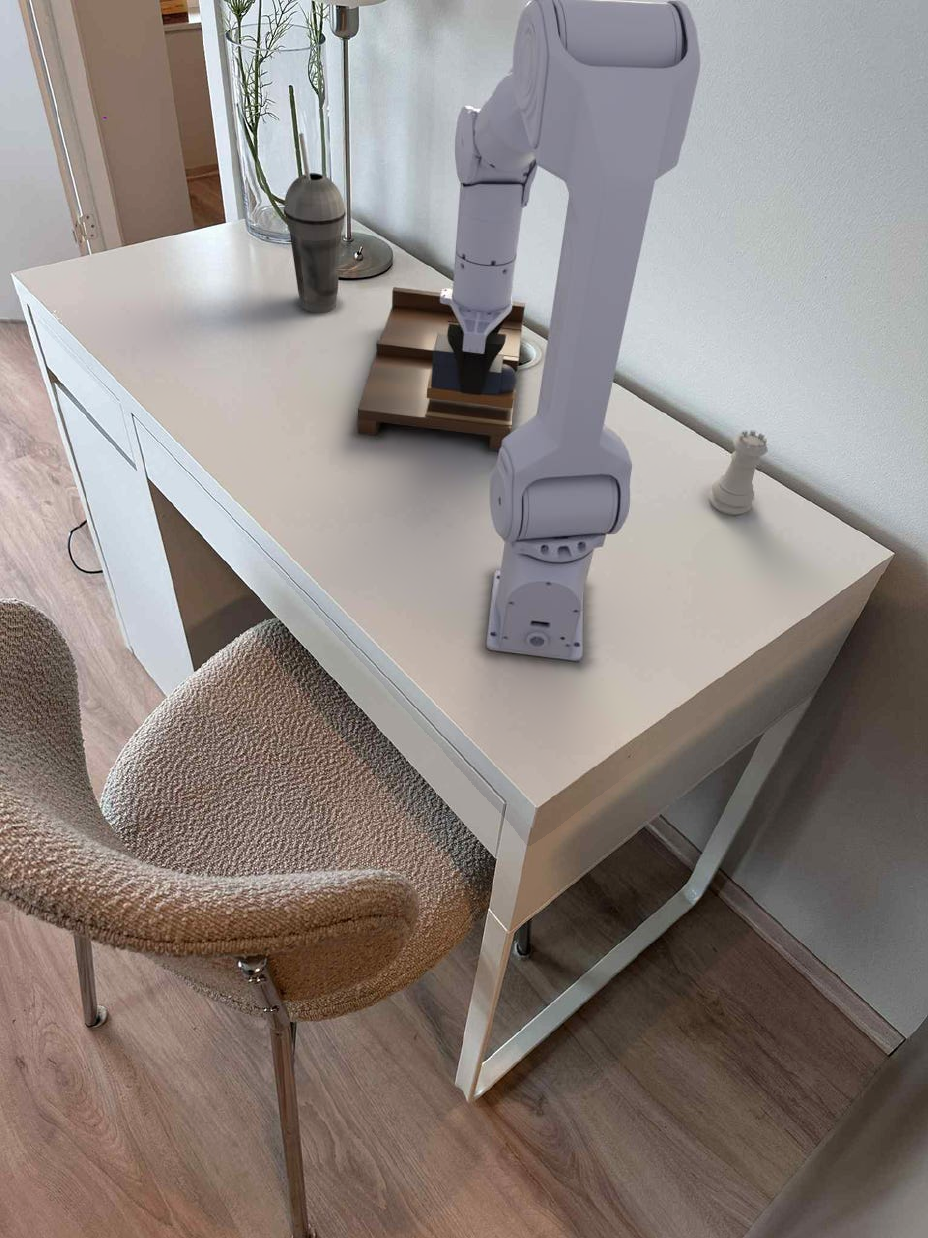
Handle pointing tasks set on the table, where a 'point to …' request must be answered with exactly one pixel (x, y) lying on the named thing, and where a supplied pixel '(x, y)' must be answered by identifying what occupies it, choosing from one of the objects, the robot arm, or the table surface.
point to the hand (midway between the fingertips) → (473, 381)
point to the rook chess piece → (739, 475)
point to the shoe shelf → (428, 372)
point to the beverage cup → (315, 236)
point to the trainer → (448, 386)
